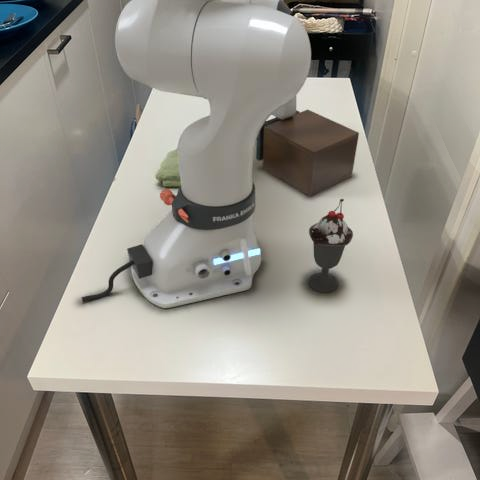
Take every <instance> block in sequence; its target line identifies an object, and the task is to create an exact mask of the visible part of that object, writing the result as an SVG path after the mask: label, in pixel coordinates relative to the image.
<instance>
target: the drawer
mask: <svg viewBox="0 0 480 480" xmlns="http://www.w3.org/2000/svg"><path fill="white" fill-rule="evenodd" d="M297 113H300V111H299V110H297V109H296V113H295V114H297ZM295 114H294V115H295ZM279 120H281V119H279V118H277V117H274V118H271V119H267V120H266V121H265V123H264V124H263V126H262V127H261V129H260V131H259V134H258V136H257V140H256V144H255V159H256V160H257V161H259V162H261V161H263V144H264V126H266V125H268V124H271V123H274V122H276V121H279Z"/></svg>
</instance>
